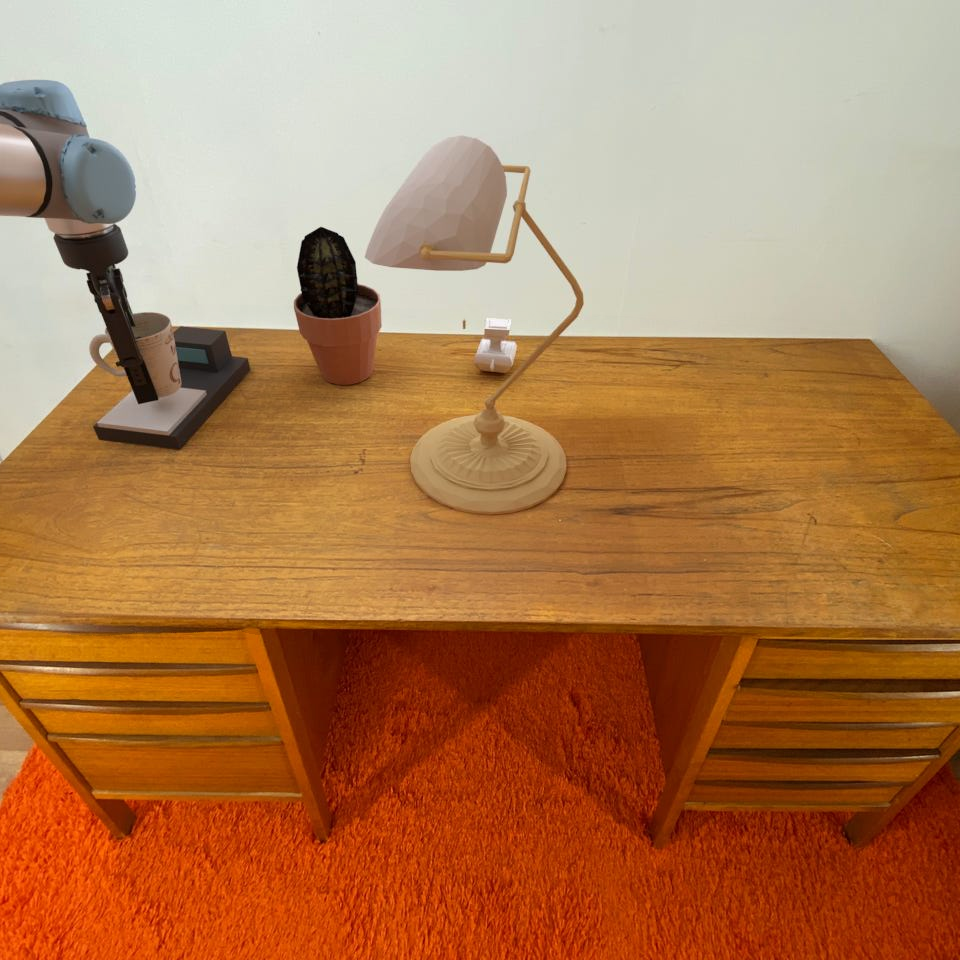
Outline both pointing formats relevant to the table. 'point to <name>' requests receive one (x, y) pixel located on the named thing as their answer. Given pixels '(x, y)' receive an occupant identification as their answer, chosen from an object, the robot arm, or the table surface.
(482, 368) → the stamp
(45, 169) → the robot arm
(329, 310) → the potted plant
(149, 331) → the mug
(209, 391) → the scale
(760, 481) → the table surface
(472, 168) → the desk lamp
